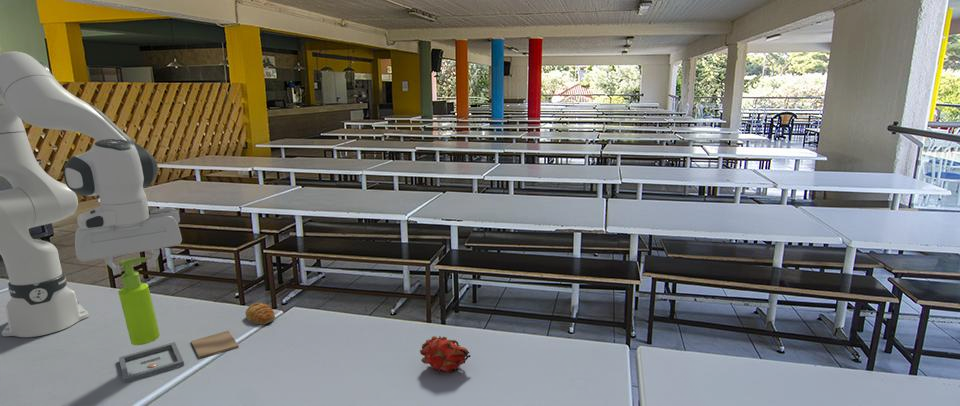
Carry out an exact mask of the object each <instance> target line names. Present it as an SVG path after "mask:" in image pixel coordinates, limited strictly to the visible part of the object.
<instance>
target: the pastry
mask: <svg viewBox="0 0 960 406" xmlns="http://www.w3.org/2000/svg"><path fill="white" fill-rule="evenodd" d="M244 313H245V318H246V319H247V320H248V321H249V322H250V323H254V324H258V325H266V324H268V323H271V322H274V320H275V318H276V316H275V312H274V310H273V308H272V307H271V306H270V305H268V304H267V303H262V302H254V303H252V304H251V305H249V306H248V308H246V311H245V312H244Z"/></svg>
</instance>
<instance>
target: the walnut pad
mask: <svg viewBox="0 0 960 406" xmlns="http://www.w3.org/2000/svg"><path fill="white" fill-rule="evenodd" d="M190 343H191V345H192V347H193V348H194V349H193V350H194V351H195V352H196V354H197V357H198V359H203V358H206V357H209V356H212V355H213V356H214V355H217V354H219V353H224V352H227V351H229V350H233V349H237V348H239V344H238V343H237V341H236V340H235V338H234V337H233V335H232V334H231V331H229V330H226V331H222V332H219V333H215V334H212V335H208V336H205V337H201V338H197V339H193V340H191V341H190Z"/></svg>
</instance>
